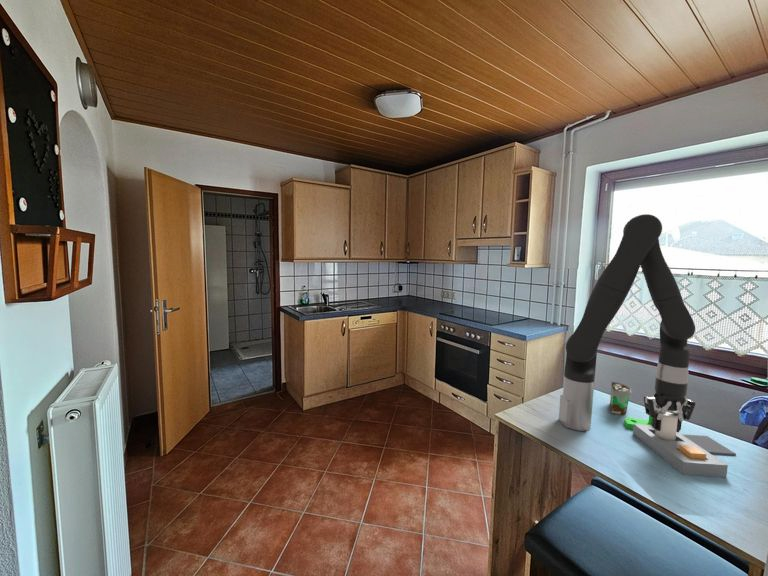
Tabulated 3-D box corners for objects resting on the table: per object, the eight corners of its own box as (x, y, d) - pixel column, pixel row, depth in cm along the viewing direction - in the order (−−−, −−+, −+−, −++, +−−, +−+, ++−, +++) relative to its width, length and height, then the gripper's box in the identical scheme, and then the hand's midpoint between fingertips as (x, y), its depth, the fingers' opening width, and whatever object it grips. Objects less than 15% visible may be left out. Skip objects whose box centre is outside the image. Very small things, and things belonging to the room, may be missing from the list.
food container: (631, 420, 120) (634, 394, 119) (611, 416, 124) (613, 390, 123) (628, 408, 131) (630, 383, 130) (609, 404, 134) (611, 380, 133)
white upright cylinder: (661, 448, 102) (664, 418, 101) (650, 439, 107) (653, 410, 106) (678, 449, 102) (682, 419, 101) (666, 440, 107) (669, 411, 106)
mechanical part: (663, 428, 115) (665, 406, 115) (669, 437, 110) (672, 414, 109) (622, 421, 120) (624, 400, 120) (626, 428, 115) (628, 406, 114)
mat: (700, 453, 101) (700, 451, 101) (674, 435, 110) (674, 433, 110) (735, 455, 100) (736, 453, 100) (706, 437, 110) (707, 435, 109)
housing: (682, 474, 90) (684, 462, 90) (632, 433, 111) (633, 423, 111) (726, 477, 89) (727, 465, 89) (667, 435, 110) (668, 425, 110)
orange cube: (689, 468, 93) (690, 453, 92) (677, 459, 97) (679, 444, 96) (704, 469, 92) (706, 454, 92) (692, 460, 96) (694, 446, 96)
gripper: (655, 381, 99) (650, 435, 101) (707, 384, 98) (700, 438, 100) (638, 372, 107) (633, 422, 108) (686, 375, 105) (680, 425, 107)
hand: (665, 430), depth 104 cm, fingers closed on white upright cylinder, 5 cm apart
